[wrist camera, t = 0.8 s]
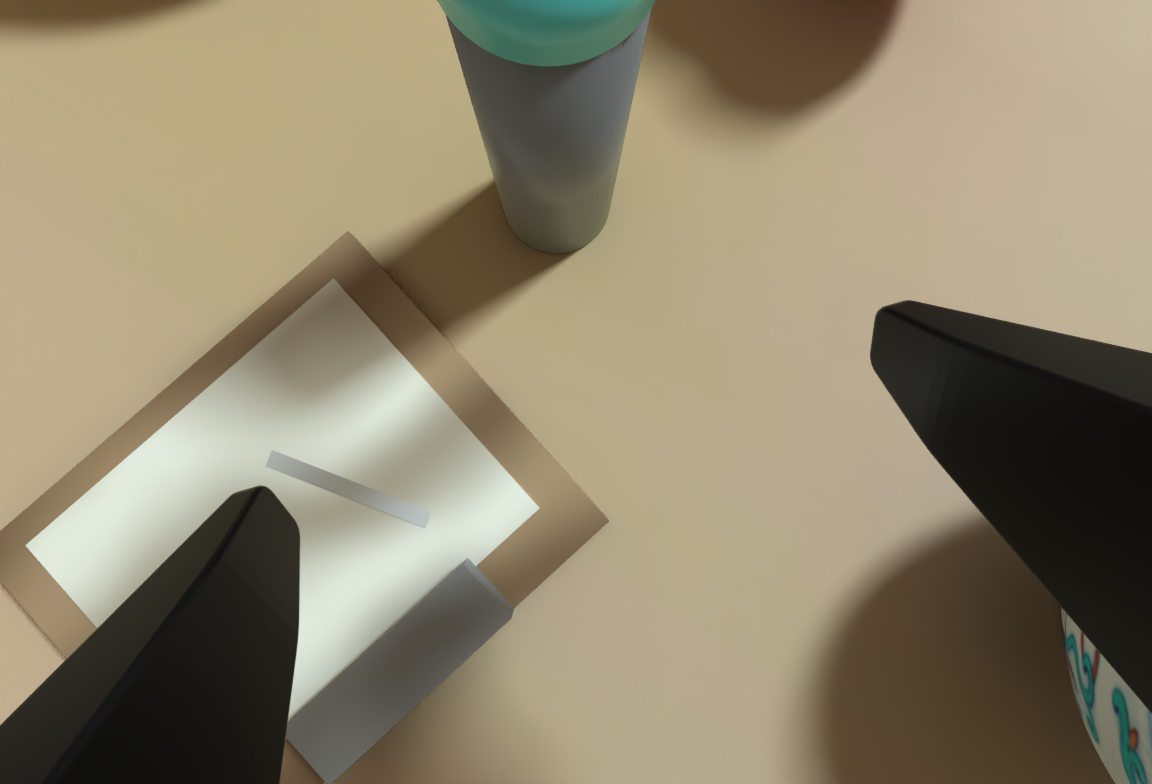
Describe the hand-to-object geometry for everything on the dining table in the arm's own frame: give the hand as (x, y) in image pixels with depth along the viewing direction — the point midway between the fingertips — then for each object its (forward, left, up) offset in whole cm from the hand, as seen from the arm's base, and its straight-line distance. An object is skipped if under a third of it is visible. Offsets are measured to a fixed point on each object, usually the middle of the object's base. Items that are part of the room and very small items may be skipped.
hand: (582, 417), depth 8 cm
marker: (+6, -5, -13) cm, 15 cm away
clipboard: (+3, +10, -13) cm, 17 cm away
